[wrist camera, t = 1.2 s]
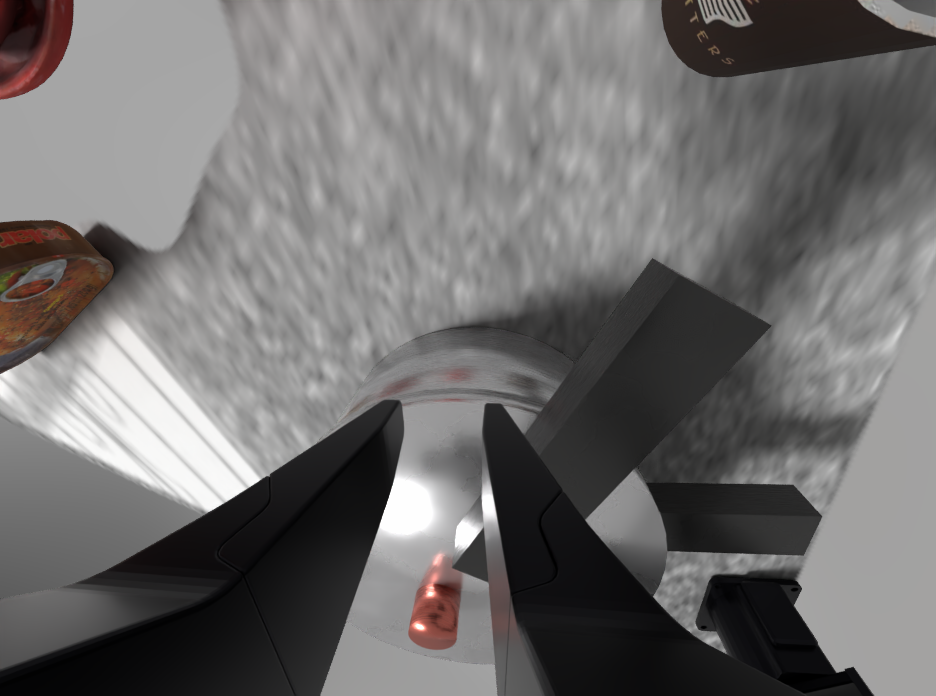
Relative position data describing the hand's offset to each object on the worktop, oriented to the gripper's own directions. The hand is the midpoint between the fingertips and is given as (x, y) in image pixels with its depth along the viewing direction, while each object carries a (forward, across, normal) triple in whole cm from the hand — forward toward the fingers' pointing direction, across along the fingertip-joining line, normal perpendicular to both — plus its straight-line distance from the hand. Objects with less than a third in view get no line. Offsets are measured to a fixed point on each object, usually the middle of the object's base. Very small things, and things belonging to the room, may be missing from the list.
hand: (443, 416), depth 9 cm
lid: (+6, -2, +9) cm, 11 cm away
